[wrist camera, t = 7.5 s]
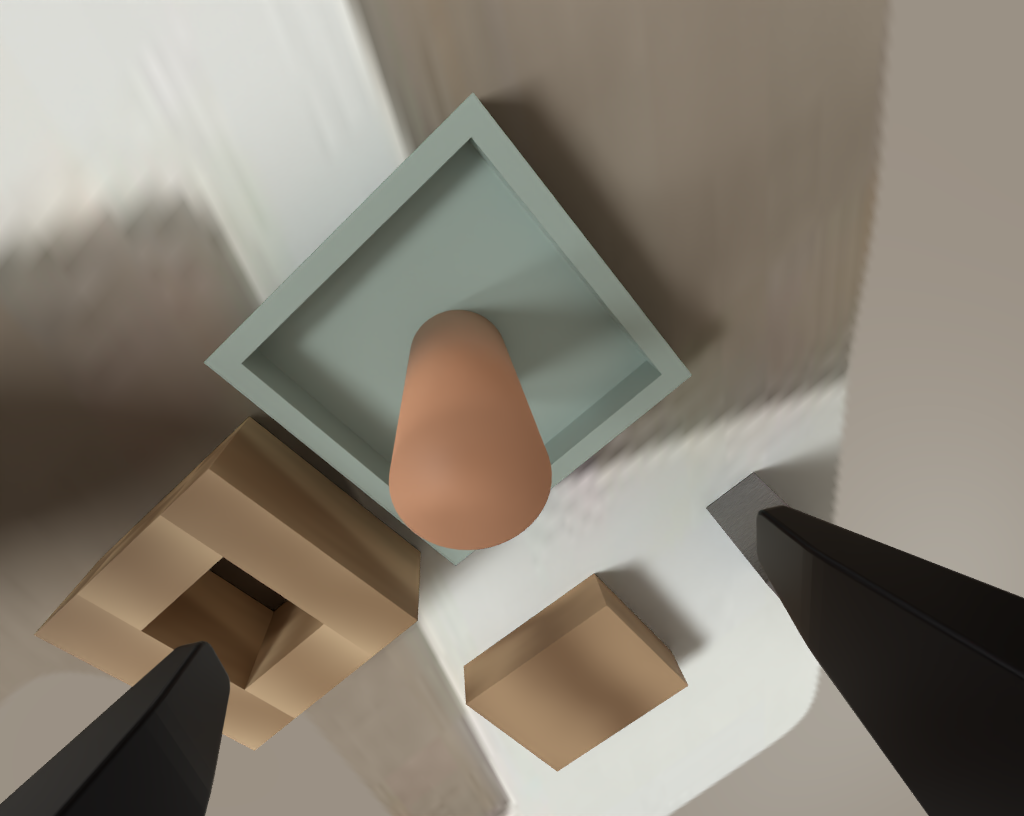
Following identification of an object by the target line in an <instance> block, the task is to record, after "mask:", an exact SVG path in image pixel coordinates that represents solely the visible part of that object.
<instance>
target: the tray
mask: <svg viewBox="0 0 1024 816" xmlns="http://www.w3.org/2000/svg"><path fill="white" fill-rule="evenodd" d="M450 310H467V311H471V312H474V313H477V314H479V315H481V316H483V317H485V318H486V319H488V320H489V321H490V322H491V323H492V324H493V325H494V326H495V327H496V328H497V329H498V331H499V332H500V334H501V336H502V338H503V340H504V343H505V346H506V348H507V351H508V353H509V356H510V358H511V361H512V363H513V366H514V369H515V371H516V374H517V376H518V379H519V381H520V384H521V386H522V389H523V392H524V394H525V397H526V399H527V402H528V404H529V407H530V409H531V412H532V415H533V417H534V420H535V422H536V425H537V427H538V430H539V432H540V435H541V438H542V440H543V443H544V445H545V448H546V450H547V453H548V456H549V459H550V463H551V470H552V483H551V489H552V488H553V487H554V486H555V485H557V484H558V483H559V482H560V481H562V480H563V479H564V478H565V477H567V476H568V475H569V474H570V473H572V472H573V471H574V470H575V469H576V468H578V467H579V466H580V465H581V464H583V463H584V462H585V461H586V460H588V459H589V458H590V457H591V456H593V455H594V454H595V453H596V452H598V451H599V450H600V449H601V448H602V447H604V446H605V445H606V444H607V443H609V442H610V441H611V440H612V439H614V438H615V437H616V436H617V435H619V434H620V433H621V432H622V431H624V430H625V429H626V428H627V427H629V426H630V425H631V424H632V423H633V422H635V421H636V420H637V419H638V418H640V417H641V416H642V415H643V414H645V413H646V412H647V411H648V410H650V409H651V408H652V407H653V406H655V405H656V404H657V403H658V402H659V401H661V400H662V399H663V398H664V397H666V396H667V395H668V394H669V393H671V392H672V391H673V390H674V389H676V388H677V387H678V386H679V385H681V384H682V383H683V382H684V381H685V380H687V379H688V378H689V377H690V376H692V374H691V373H690V372H689V371H688V369H687V368H686V367H685V365H684V364H683V363H682V362H681V360H680V359H679V358H678V356H677V355H676V354H675V353H674V351H673V350H672V349H671V347H670V346H669V345H668V343H667V342H666V341H665V340H664V338H663V337H662V336H661V334H660V333H659V332H658V331H657V329H656V328H655V327H654V325H653V324H652V323H651V322H650V320H649V319H648V318H647V316H646V315H645V314H644V312H643V311H642V310H641V309H640V307H639V306H638V305H637V303H636V302H635V301H634V300H633V298H632V297H631V296H630V294H629V293H628V292H627V291H626V289H625V288H624V287H623V285H622V284H621V283H620V282H619V280H618V279H617V278H616V276H615V275H614V274H613V272H612V271H611V270H610V269H609V267H608V266H607V265H606V263H605V262H604V261H603V260H602V258H601V257H600V256H599V254H598V253H597V252H596V251H595V249H594V248H593V247H592V245H591V244H590V243H589V241H588V240H587V239H586V238H585V236H584V235H583V234H582V232H581V231H580V230H579V229H578V227H577V226H576V225H575V223H574V222H573V221H572V220H571V218H570V217H569V216H568V214H567V213H566V212H565V210H564V209H563V208H562V207H561V205H560V204H559V203H558V201H557V200H556V199H555V198H554V196H553V195H552V194H551V192H550V191H549V190H548V189H547V187H546V186H545V185H544V183H543V182H542V181H541V180H540V178H539V177H538V176H537V174H536V173H535V172H534V170H533V169H532V168H531V167H530V165H529V164H528V163H527V161H526V160H525V159H524V158H523V156H522V155H521V154H520V152H519V151H518V150H517V149H516V147H515V146H514V145H513V143H512V142H511V141H510V139H509V138H508V137H507V136H506V134H505V133H504V132H503V130H502V129H501V128H500V127H499V125H498V124H497V123H496V121H495V120H494V119H493V118H492V116H491V115H490V114H489V112H488V111H487V110H486V108H485V107H484V106H483V105H482V103H481V102H480V101H479V99H478V98H477V97H476V96H475V94H474V93H472V94H471V95H470V96H469V97H468V98H467V99H466V100H465V101H464V102H463V103H462V104H461V105H460V106H459V107H458V108H457V109H456V110H455V111H454V112H453V113H452V114H451V115H450V116H449V117H448V118H447V119H446V120H445V121H444V122H443V123H442V124H441V125H440V126H439V127H438V128H437V129H436V130H435V131H434V132H433V133H432V134H431V135H430V136H429V137H428V138H427V139H426V140H425V141H424V142H423V143H422V144H421V145H420V146H419V147H418V148H417V149H416V150H415V151H414V152H413V153H412V154H411V155H410V156H409V157H408V158H407V159H406V160H405V161H404V162H403V163H402V164H401V165H400V166H399V167H398V168H397V169H396V170H395V171H394V172H393V173H392V174H391V175H390V176H389V177H388V178H387V179H386V180H385V181H384V182H383V183H382V184H381V185H380V186H379V187H378V188H377V189H376V190H375V191H374V192H373V193H372V194H371V195H370V196H369V197H368V198H367V199H366V200H365V201H364V202H363V203H362V204H361V205H360V206H359V207H358V208H357V209H356V210H355V211H354V212H353V213H352V214H351V215H350V216H349V217H348V218H347V219H346V220H345V221H344V222H343V223H342V224H341V225H340V226H339V227H338V228H337V229H336V230H335V231H334V232H333V233H332V234H331V235H330V236H329V237H328V238H327V239H326V240H325V241H324V242H323V243H322V244H321V245H320V246H319V247H318V248H317V249H316V250H315V251H314V252H313V253H312V254H311V255H310V256H309V257H308V258H307V259H306V260H305V261H304V262H303V263H302V264H301V265H300V266H299V267H298V268H297V269H296V270H295V271H294V272H293V273H292V274H291V275H290V276H289V277H288V278H287V279H286V280H285V281H284V282H283V283H282V284H281V285H280V286H279V287H278V288H277V289H276V290H275V291H274V292H273V293H272V294H271V295H270V296H269V297H268V298H267V299H266V300H265V301H264V302H263V303H262V304H261V305H260V306H259V307H258V308H257V309H256V310H255V311H254V312H253V313H252V314H251V315H250V316H249V317H248V318H247V319H246V320H245V321H244V322H243V323H242V324H241V325H240V326H239V327H238V328H237V329H236V330H235V331H234V332H233V333H232V334H231V335H230V336H229V337H228V338H227V339H226V340H225V341H224V342H223V343H222V344H221V345H220V346H219V347H218V348H217V349H216V350H215V351H214V352H213V353H212V354H211V355H210V356H209V357H208V358H207V359H206V360H205V362H204V363H205V364H206V365H207V366H208V367H210V368H211V369H212V370H213V371H215V372H216V373H217V374H218V375H220V376H221V377H222V378H223V379H224V380H226V381H227V382H228V383H229V384H231V385H232V386H233V387H234V388H236V389H237V390H238V391H239V392H241V393H242V394H243V395H244V396H246V397H247V398H248V399H249V400H251V401H252V402H253V403H254V404H255V405H257V406H258V407H259V408H260V409H262V410H263V411H264V412H265V413H267V414H268V415H269V416H270V417H272V418H273V419H274V420H275V421H277V422H278V423H279V424H280V425H281V426H283V427H284V428H285V429H286V430H288V431H289V432H290V433H291V434H293V435H294V436H295V437H296V438H298V439H299V440H300V441H301V442H303V443H304V444H305V445H306V446H307V447H309V448H310V449H311V450H312V451H314V452H315V453H316V454H317V455H319V456H320V457H321V458H322V459H324V460H325V461H326V462H327V463H329V464H330V465H331V466H332V467H333V468H335V469H336V470H337V471H338V472H340V473H341V474H342V475H343V476H345V477H346V478H347V479H348V480H350V481H351V482H352V483H353V484H355V485H356V486H357V487H358V488H359V489H361V490H362V491H363V492H364V493H366V494H367V495H368V496H369V497H371V498H372V499H373V500H374V501H376V502H377V503H378V504H379V505H381V506H382V507H383V508H384V509H386V510H387V511H388V512H389V513H390V514H392V515H393V516H394V517H395V518H397V519H398V520H399V521H400V522H402V523H403V524H404V525H405V526H406V524H405V523H404V522H403V521H402V519H401V518H400V517H399V515H398V513H397V512H396V510H395V508H394V505H393V503H392V500H391V496H390V491H389V472H390V467H391V461H392V455H393V449H394V443H395V437H396V431H397V425H398V419H399V413H400V407H401V402H402V396H403V390H404V384H405V378H406V372H407V366H408V360H409V354H410V349H411V344H412V341H413V338H414V336H415V334H416V332H417V331H418V330H419V328H420V327H421V326H422V325H423V324H424V323H425V322H426V321H427V320H429V319H430V318H432V317H433V316H435V315H437V314H439V313H442V312H445V311H450ZM407 527H408V526H407ZM408 528H409V527H408ZM409 529H410V528H409ZM410 530H411V529H410ZM415 534H416V533H415ZM416 535H417V534H416ZM419 537H420V536H419ZM420 538H421V537H420ZM421 539H423V538H421ZM423 540H424V541H425V542H426V543H428V544H429V545H430V546H431V547H433V548H434V549H435V550H436V551H438V552H439V553H440V554H441V555H442V556H444V557H445V558H446V559H447V560H449V561H450V562H451V563H452V564H454V565H455V566H456V565H458V564H459V563H460V562H461V561H462V560H464V559H465V558H466V557H467V556H469V555H470V554H471V553H472V552H474V551H475V550H457V549H450V548H446V547H442V546H438V545H436V544H433V543H431V542H429V541H427V540H425V539H423Z"/></svg>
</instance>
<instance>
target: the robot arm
mask: <svg viewBox="0 0 1024 816" xmlns="http://www.w3.org/2000/svg"><path fill="white" fill-rule="evenodd" d="M756 553H757V557H758V560H759V562H760V565H761V567H762V568H763V570H764V572H765V574H766V575H767V577H768V579H769V581H770V582H771V584H772V586H773V587H774V589H775V591H776V593H777V594H778V596H779V598H780V600H781V601H782V603H783V605H784V607H785V608H786V610H787V612H788V614H789V615H790V617H791V619H792V621H793V622H794V624H795V626H796V628H797V629H798V631H799V633H800V635H801V636H802V638H803V640H804V641H805V643H806V645H807V646H808V648H809V649H810V651H811V652H812V654H813V655H814V657H815V658H816V660H817V661H818V662H819V664H820V665H821V667H822V668H823V669H824V671H825V672H826V674H827V675H828V676H829V678H830V679H831V680H832V682H833V683H834V685H835V686H836V687H837V689H838V690H839V692H840V693H841V694H842V696H843V697H844V699H845V700H846V701H847V703H848V704H849V705H850V707H851V708H852V710H853V711H854V713H855V714H856V715H857V717H858V718H859V719H860V721H861V722H862V724H863V725H864V726H865V728H866V729H867V731H868V732H869V733H870V735H871V736H872V738H873V739H874V740H875V742H876V743H877V745H878V746H879V747H880V749H881V750H882V751H883V753H884V754H885V756H886V757H887V758H888V760H889V761H890V763H891V764H892V765H893V766H894V768H895V770H896V771H897V772H898V774H899V775H900V777H901V778H902V779H903V781H904V782H905V783H906V785H907V786H908V788H909V789H910V790H911V792H912V793H913V795H914V796H915V797H916V799H917V800H918V801H919V803H920V804H921V806H922V807H923V808H924V810H925V811H926V813H927V814H928V815H929V816H1024V598H1023V597H1020V596H1017V595H1015V594H1012V593H1010V592H1007V591H1004V590H1002V589H999V588H997V587H994V586H992V585H989V584H986V583H984V582H981V581H979V580H976V579H974V578H971V577H968V576H966V575H963V574H960V573H958V572H955V571H952V570H950V569H948V568H945V567H943V566H940V565H937V564H935V563H932V562H929V561H927V560H924V559H922V558H919V557H917V556H914V555H911V554H909V553H906V552H904V551H901V550H898V549H896V548H893V547H891V546H888V545H886V544H883V543H880V542H878V541H875V540H872V539H870V538H867V537H865V536H862V535H859V534H857V533H854V532H852V531H849V530H847V529H844V528H842V527H839V526H837V525H834V524H831V523H829V522H826V521H824V520H821V519H818V518H816V517H813V516H811V515H808V514H806V513H803V512H800V511H798V510H795V509H793V508H790V507H787V506H784V505H778V506H774V507H770V508H765V509H761V510H760V511H758V513H757V515H756ZM229 695H230V680H229V676H228V674H227V672H226V670H225V668H224V667H223V665H222V663H221V661H220V660H219V658H218V656H217V654H216V653H215V651H214V649H213V647H212V646H211V644H210V643H208V642H206V641H198V642H194V643H189V644H185V645H182V646H179V647H177V648H176V649H174V650H173V651H172V652H171V653H170V654H169V655H167V656H166V657H165V658H164V659H163V660H162V661H161V662H160V663H159V664H157V665H156V666H155V667H154V668H153V669H152V670H151V671H150V672H148V673H147V674H146V675H145V676H144V677H143V678H142V679H141V680H139V681H138V682H137V683H136V684H135V685H134V686H133V687H132V688H130V689H129V690H128V691H127V692H126V693H125V694H124V695H123V696H121V697H120V698H119V699H118V700H117V701H116V702H115V703H114V704H113V705H111V706H110V707H109V708H108V709H107V710H106V711H105V712H103V714H101V715H100V716H99V717H98V718H97V719H96V720H94V721H93V722H92V723H91V724H90V725H89V726H88V727H87V728H85V730H83V731H82V732H81V733H80V734H79V735H78V736H76V737H75V738H74V739H73V740H72V741H71V742H70V743H69V744H68V745H66V746H65V747H64V748H63V749H62V750H61V751H60V752H58V753H57V754H56V755H55V756H54V757H53V758H52V759H51V760H49V761H48V762H47V763H46V764H45V765H44V766H43V767H42V768H41V769H39V770H38V771H37V772H36V773H35V774H34V775H33V776H32V777H30V779H28V780H27V781H26V782H25V783H24V784H23V785H21V786H20V787H19V788H18V789H17V790H16V791H15V792H14V793H12V794H11V795H10V796H9V797H8V798H7V799H6V800H5V801H3V802H2V803H1V804H0V816H205V813H206V809H207V805H208V801H209V798H210V794H211V789H212V785H213V780H214V775H215V770H216V765H217V759H218V754H219V749H220V743H221V737H222V732H223V727H224V722H225V716H226V711H227V705H228V700H229Z"/></svg>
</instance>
